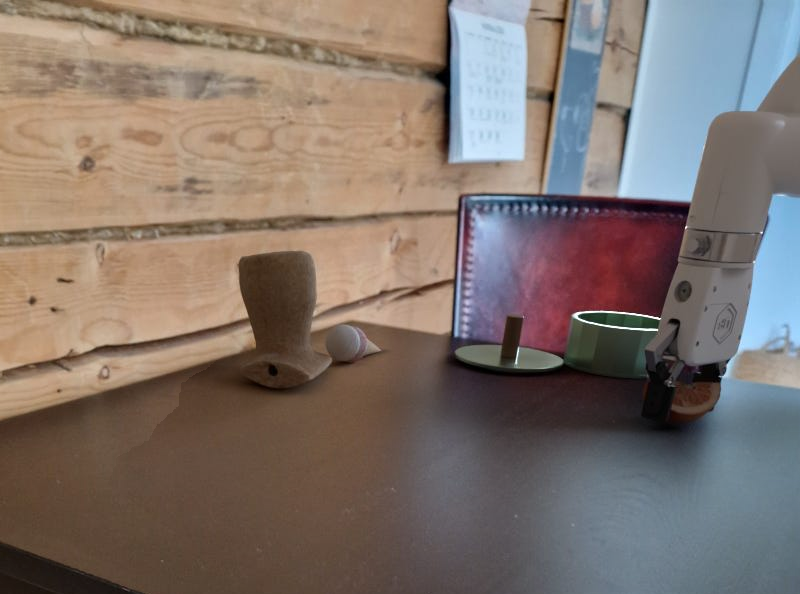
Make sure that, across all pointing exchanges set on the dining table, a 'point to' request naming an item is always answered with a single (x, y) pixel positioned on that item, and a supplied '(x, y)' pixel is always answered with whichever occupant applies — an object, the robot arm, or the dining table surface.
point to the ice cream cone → (348, 343)
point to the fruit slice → (691, 400)
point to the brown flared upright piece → (281, 317)
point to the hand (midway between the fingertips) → (677, 413)
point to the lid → (509, 353)
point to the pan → (610, 343)
